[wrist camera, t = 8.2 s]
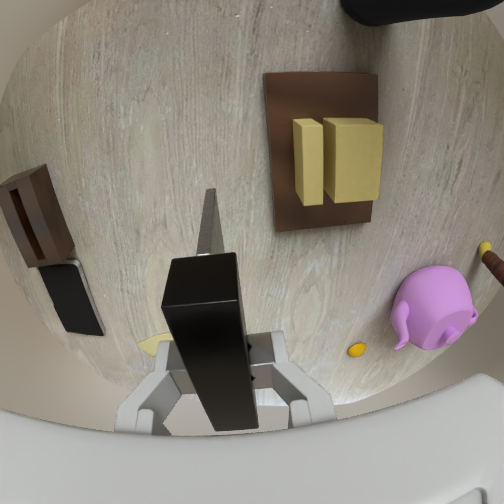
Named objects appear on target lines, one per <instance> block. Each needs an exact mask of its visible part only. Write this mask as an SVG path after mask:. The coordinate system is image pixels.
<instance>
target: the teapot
mask: <svg viewBox="0 0 504 504" xmlns="http://www.w3.org/2000/svg"><path fill="white" fill-rule="evenodd" d="M477 317H478V313H477V311H476V310H475V308H474V307H473V305H472V299H471V294H470V290H469V288H468V285H467V283H466V281H465V279H464V277H463V276H462V274H461V273H460V272H459V271H458V270H456V269H454V268H452V267H448V266H441V265H434V266H428V267H425V268H422V269H419V270H417V271H415V272H413V273H411V274H410V275H409V276H408V277H407V278H406V279H405V280H404V281H403V283H402V284H401V286H400V288H399V290H398V292H397V294H396V297H395V300H394V303H393V308H392V314H391V324H392V327H393V329H394V331H395V332H396V334H397V337H398V343H397V345H396V346H395V348H394V350H398V349H400V348H402V347H403V346H405V345H406V344H407V342H408V341H409V342H411V343H412V344H414V345H415V346H417V347H419V348H421V349H423V350H434V349H438V348H441V347H444V346H446V345H450V344H452V343H454V342H455V341H456V340H457V339H458V338H459V337H460V335H461V334H462V333H463V332H464V330H465V329H466V327H467V326H471V325H473V324H474V323H475V322H476V320H477Z"/></svg>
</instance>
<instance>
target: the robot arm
mask: <svg viewBox="0 0 504 504" xmlns="http://www.w3.org/2000/svg"><path fill="white" fill-rule="evenodd" d="M247 344H248V357H249V367H250V373H251V379H252V386H253V389H263V388H273V389H274V390H275V391H276V392H277V393H278V395H279V396H280V397H281V398H282V399H283V400H284V401H285V402H286V404H287V405H288V406H289V422H288V429H283V430H276V431H267V432H257V433H246V434H233V435H213V436H171V433H170V432H169V431H168V430H167V428H166V427H165V426H164V425H163V422H164V420H165V419H166V418H167V416H168V415H169V413H170V412H171V410H172V409H173V407H174V406H175V404H176V403H177V401H178V400H179V398H180V397H181V394H194V393H196V390H195V388H194V386H193V384H192V382H191V379H190V377H189V375H188V373H187V370H186V368H185V366H184V363H183V361H182V359H181V356H180V354H179V352H178V349H177V347H176V344H175V342H174V340H169V341H159V343H158V347H157V353H156V359H155V365H154V371H153V372H150V373H149V374H148V375H147V376H146V377H145V378H144V379H143V380H142V381H141V383H140V384H139V385H138V386H137V387H136V388H135V389H134V390H133V391H132V393H131V394H130V395H129V396H128V397H127V398H126V399H125V400H124V401H123V402H122V403H121V404H120V406H119V407H118V412H117V417H116V422H115V428H114V432H110V431H102V430H94V429H88V428H81V427H76V426H70V425H65V424H60V423H55V422H50V421H46V420H42V419H37V418H33V417H29V416H26V415H22V414H19V413H15V412H11V411H8V410H5V409H1V408H0V504H504V384H502V383H501V382H499V381H498V380H496V379H494V378H492V377H490V376H488V375H486V374H484V373H478V374H475V375H473V376H470V377H468V378H466V379H464V380H461V381H459V382H457V383H455V384H452V385H450V386H447V387H445V388H443V389H440V390H437V391H434V392H432V393H429V394H426V395H423V396H421V397H418V398H415V399H412V400H409V401H406V402H403V403H400V404H397V405H393V406H390V407H387V408H383V409H380V410H376V411H372V412H369V413H365V414H362V415H357V416H353V417H349V418H345V419H340V420H337V417H336V413H335V410H334V406H333V402H332V398H331V394H330V393H329V392H328V391H327V390H325V389H324V388H323V387H322V386H321V385H320V384H318V383H317V382H316V381H315V380H314V379H313V378H312V377H310V376H309V375H308V374H307V373H306V372H305V371H304V370H302V369H301V368H300V367H299V366H298V365H297V364H296V363H295V362H293V361H289V356H288V351H287V347H286V342H285V337H284V332H283V331H274V332H265V333H257V334H248V335H247Z"/></svg>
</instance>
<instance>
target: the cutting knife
mask: <svg viewBox="0 0 504 504" xmlns="http://www.w3.org/2000/svg"><path fill="white" fill-rule="evenodd" d="M161 308H162V311H163V314H164V316H165V319H166V322H167V324H168V327H169V329H170V332H171V334H172V337H173V339H174V342H175V344H176V347H177V349H178V352H179V354H180V356H181V359H182V361H183V363H184V366H185V368H186V370H187V373H188V375H189V377H190V379H191V382H192V384H193V386H194V388H195V390H196V393H197V395H198V397H199V399H200V401H201V403H202V405H203V407H204V409H205V411H206V414H207V415H208V417H209V420H210V422H211V423H212V426H213V427H214V430H215V431H232V430H245V429H255V428H258V427H259V425H258V416H257V406H256V396H255V389H253V386H252V379H251V373H250V367H249V357H248V344H247V331H246V324H245V317H244V309H243V302H242V294H241V287H240V279H239V271H238V264H237V256H236V253H235V252H231V253H225V250H224V244H223V237H222V230H221V223H220V217H219V210H218V202H217V195H216V189H215V188H213V189H206V193H205V199H204V205H203V212H202V218H201V225H200V232H199V239H198V246H197V253H196V256H193V257H184V258H175V259H172V261H171V265H170V269H169V274H168V278H167V282H166V287H165V291H164V296H163V300H162V305H161Z"/></svg>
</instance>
